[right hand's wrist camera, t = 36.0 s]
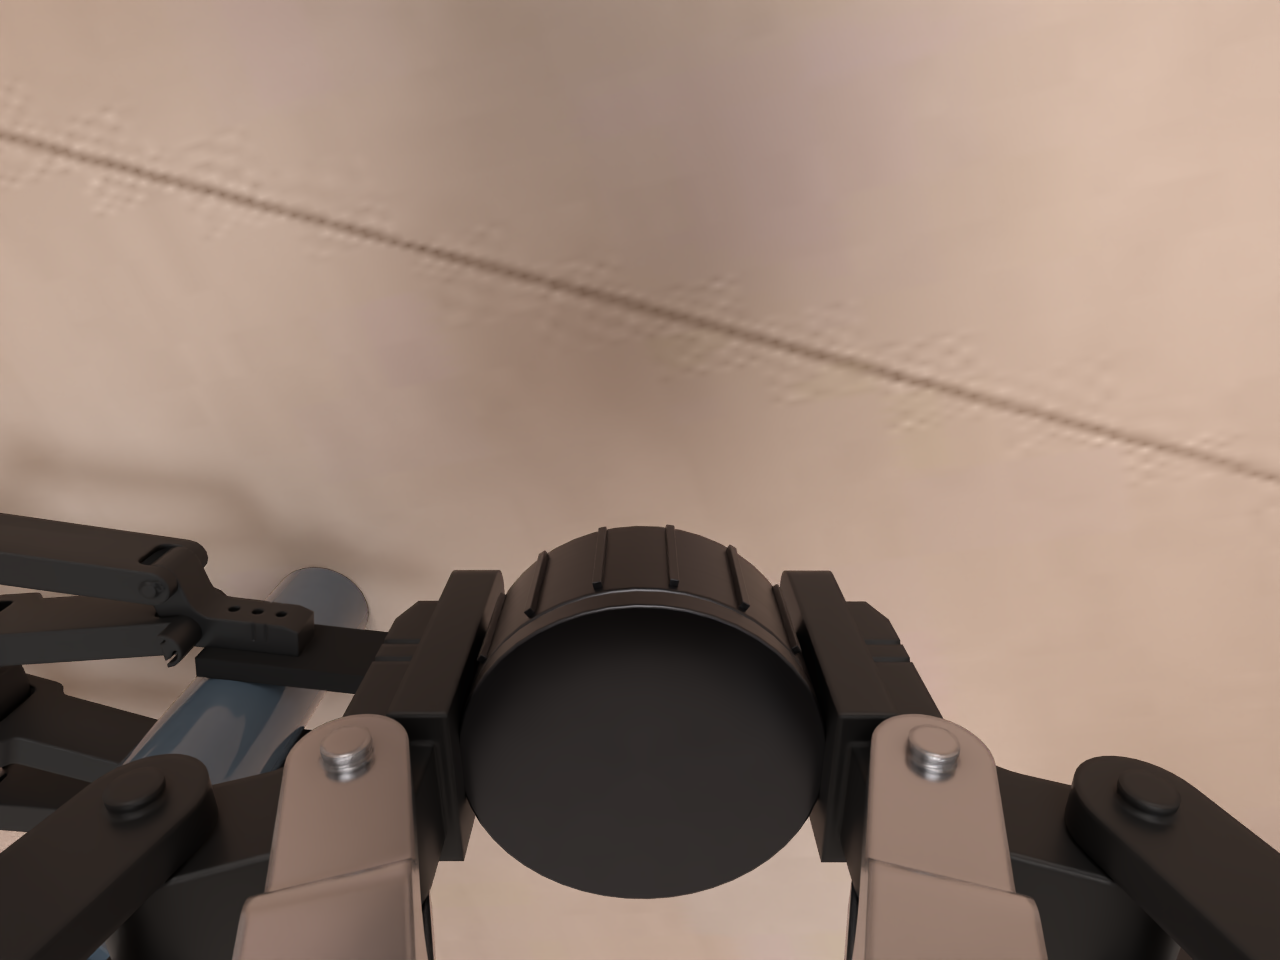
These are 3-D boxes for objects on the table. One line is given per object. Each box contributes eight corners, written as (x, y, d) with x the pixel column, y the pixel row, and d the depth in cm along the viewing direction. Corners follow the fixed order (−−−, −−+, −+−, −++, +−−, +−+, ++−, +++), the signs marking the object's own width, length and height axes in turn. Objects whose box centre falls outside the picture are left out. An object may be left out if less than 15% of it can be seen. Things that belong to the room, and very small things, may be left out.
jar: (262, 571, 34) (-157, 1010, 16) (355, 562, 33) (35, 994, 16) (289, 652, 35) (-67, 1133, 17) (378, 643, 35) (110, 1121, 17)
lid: (793, 781, 12) (822, 898, 10) (502, 789, 12) (475, 906, 10) (806, 515, 10) (844, 595, 8) (467, 526, 10) (427, 607, 8)
